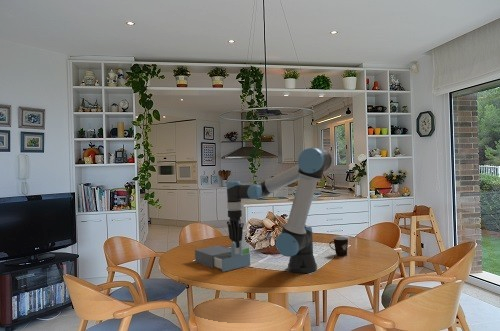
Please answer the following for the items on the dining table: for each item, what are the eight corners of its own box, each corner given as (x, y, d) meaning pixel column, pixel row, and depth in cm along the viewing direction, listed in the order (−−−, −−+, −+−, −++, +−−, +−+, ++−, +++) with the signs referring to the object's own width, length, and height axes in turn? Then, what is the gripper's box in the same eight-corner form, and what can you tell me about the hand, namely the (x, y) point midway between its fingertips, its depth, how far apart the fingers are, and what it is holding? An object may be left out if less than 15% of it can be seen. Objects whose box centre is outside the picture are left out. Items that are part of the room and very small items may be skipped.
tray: (250, 265, 195) (249, 240, 195) (223, 271, 184) (222, 245, 185) (230, 258, 211) (229, 236, 211) (204, 264, 200) (203, 240, 200)
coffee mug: (347, 253, 216) (346, 236, 216) (350, 256, 207) (349, 239, 208) (328, 253, 217) (327, 237, 217) (330, 256, 209) (329, 239, 209)
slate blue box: (239, 262, 204) (239, 250, 204) (212, 268, 193) (212, 255, 193) (221, 256, 220) (220, 245, 220) (195, 261, 209) (194, 249, 209)
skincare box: (241, 257, 215) (240, 231, 216) (233, 256, 219) (232, 231, 220) (250, 254, 222) (249, 229, 222) (241, 253, 226) (241, 228, 226)
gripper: (247, 209, 187) (249, 254, 187) (233, 208, 198) (234, 250, 198) (236, 211, 183) (237, 256, 182) (221, 209, 194) (223, 252, 194)
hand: (236, 253), depth 190 cm, fingers closed on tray
